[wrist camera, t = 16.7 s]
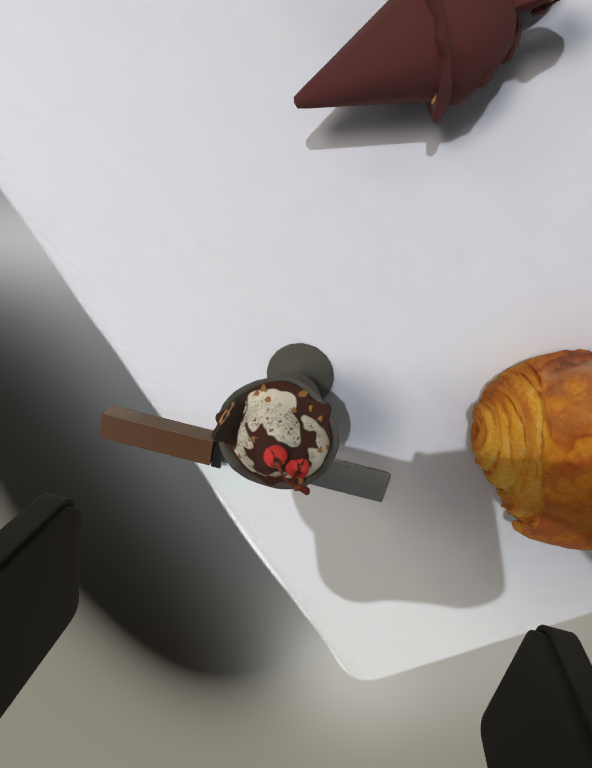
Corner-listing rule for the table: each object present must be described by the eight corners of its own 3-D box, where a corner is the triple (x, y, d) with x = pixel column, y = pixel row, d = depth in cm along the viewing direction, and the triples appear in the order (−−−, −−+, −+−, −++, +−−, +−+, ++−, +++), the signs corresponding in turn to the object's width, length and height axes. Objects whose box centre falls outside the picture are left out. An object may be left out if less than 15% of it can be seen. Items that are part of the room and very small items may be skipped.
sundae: (361, 393, 34) (361, 518, 20) (283, 429, 36) (234, 566, 22) (319, 314, 33) (287, 391, 19) (240, 356, 34) (156, 454, 20)
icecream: (323, 183, 24) (630, 50, 21) (265, 11, 20) (630, -174, 17) (313, 165, 30) (553, 60, 27) (267, 30, 26) (540, -106, 23)
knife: (390, 471, 36) (391, 483, 35) (380, 501, 37) (381, 513, 36) (112, 401, 37) (101, 409, 36) (110, 431, 38) (99, 440, 37)
